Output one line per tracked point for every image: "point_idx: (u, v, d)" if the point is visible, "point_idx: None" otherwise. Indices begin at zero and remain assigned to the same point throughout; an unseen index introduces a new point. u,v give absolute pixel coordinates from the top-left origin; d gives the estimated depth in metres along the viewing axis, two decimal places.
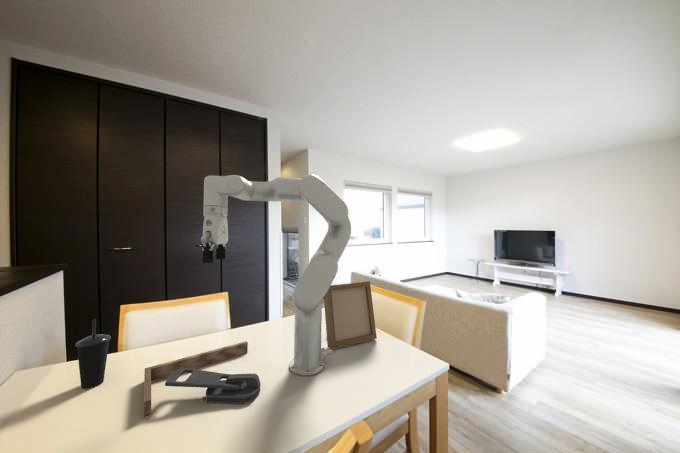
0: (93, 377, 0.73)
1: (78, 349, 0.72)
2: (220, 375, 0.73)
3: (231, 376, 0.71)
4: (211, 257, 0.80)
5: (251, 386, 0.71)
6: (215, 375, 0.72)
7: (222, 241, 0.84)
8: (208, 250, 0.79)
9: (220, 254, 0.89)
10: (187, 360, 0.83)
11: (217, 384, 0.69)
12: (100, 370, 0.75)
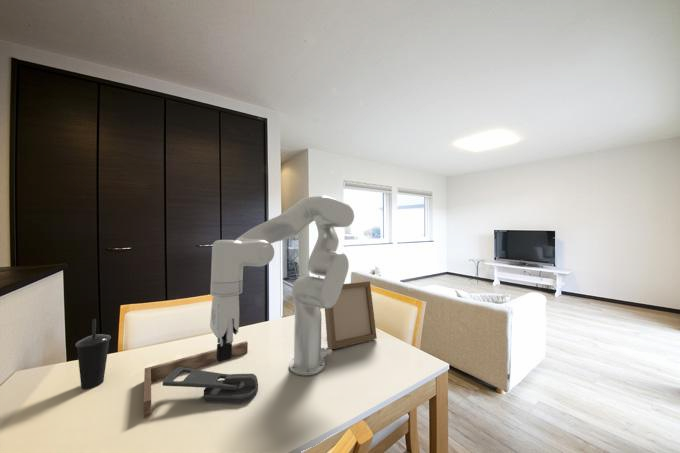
0: (93, 377, 0.73)
1: (78, 349, 0.72)
2: (218, 375, 0.73)
3: (229, 376, 0.71)
4: None
5: (248, 386, 0.71)
6: (213, 375, 0.72)
7: (212, 329, 0.62)
8: None
9: None
10: (187, 360, 0.83)
11: (215, 384, 0.69)
12: (100, 370, 0.75)
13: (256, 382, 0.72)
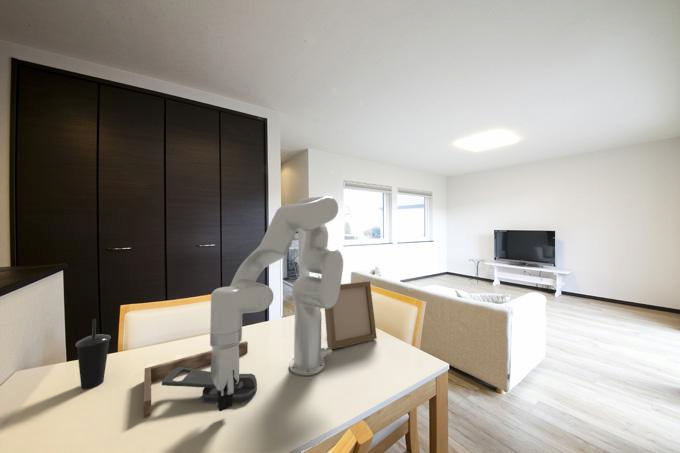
0: (93, 377, 0.73)
1: (78, 349, 0.72)
2: None
3: None
4: None
5: (247, 386, 0.71)
6: None
7: (213, 378, 0.62)
8: None
9: None
10: (187, 360, 0.83)
11: (213, 384, 0.69)
12: (100, 370, 0.75)
13: (255, 382, 0.72)
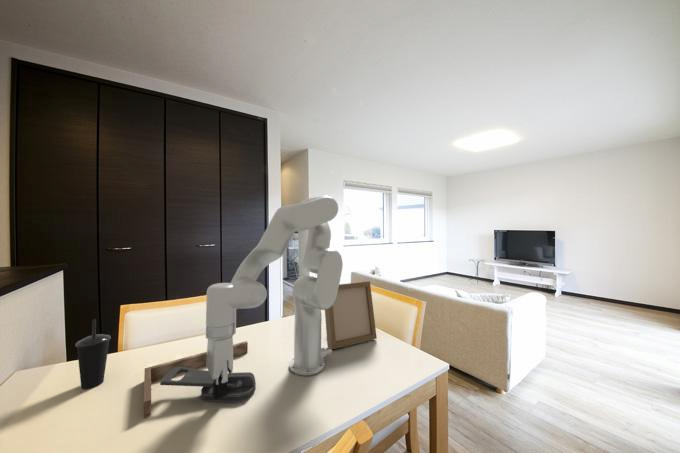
0: (93, 377, 0.73)
1: (78, 349, 0.72)
2: None
3: None
4: None
5: (246, 385, 0.71)
6: None
7: (208, 368, 0.66)
8: None
9: None
10: (187, 360, 0.83)
11: (212, 383, 0.69)
12: (100, 370, 0.75)
13: (254, 381, 0.73)
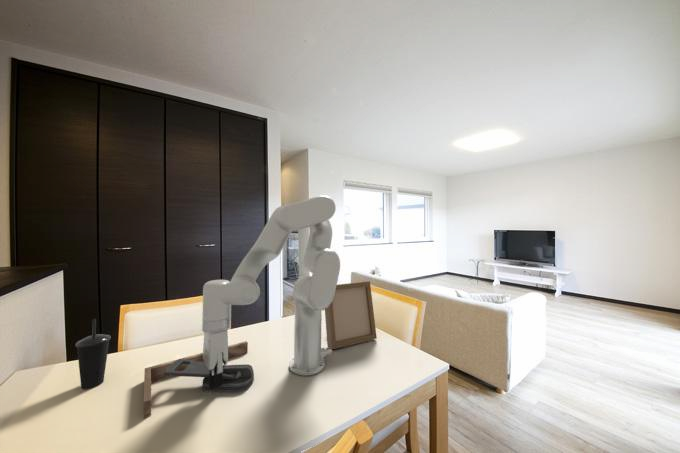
0: (93, 377, 0.73)
1: (78, 349, 0.72)
2: None
3: (226, 367, 0.76)
4: None
5: (245, 376, 0.76)
6: None
7: (204, 360, 0.70)
8: None
9: None
10: None
11: None
12: (100, 370, 0.75)
13: (252, 372, 0.77)
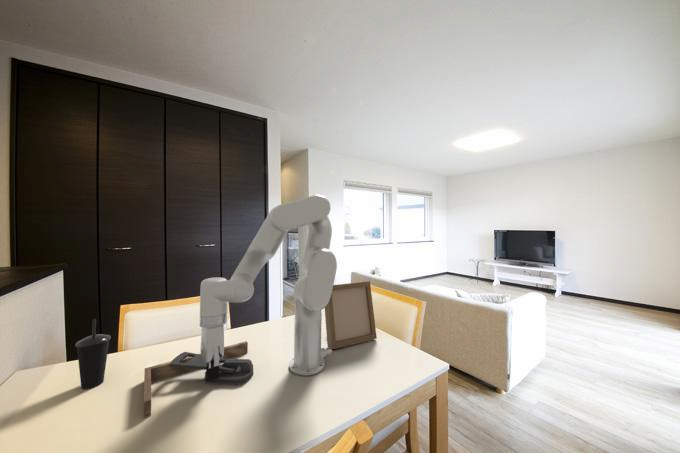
0: (93, 377, 0.73)
1: (78, 349, 0.72)
2: None
3: (227, 360, 0.80)
4: None
5: (244, 370, 0.79)
6: None
7: (202, 353, 0.74)
8: None
9: None
10: (187, 360, 0.83)
11: None
12: (100, 370, 0.75)
13: (251, 367, 0.80)
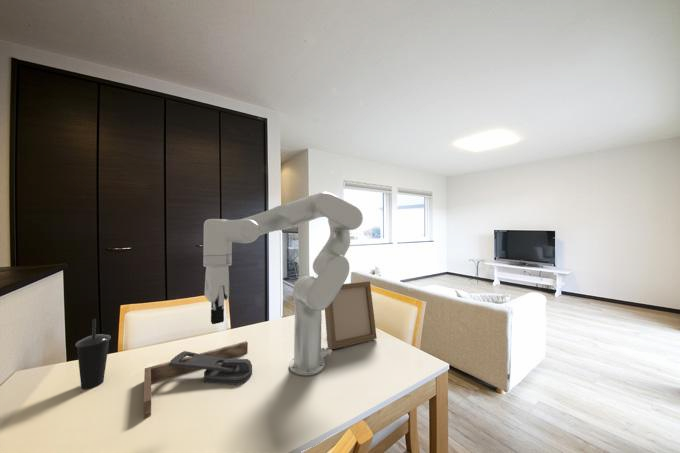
0: (93, 377, 0.73)
1: (78, 349, 0.72)
2: (217, 359, 0.81)
3: (226, 360, 0.80)
4: None
5: (243, 370, 0.79)
6: (213, 359, 0.81)
7: (206, 296, 0.71)
8: None
9: None
10: (187, 360, 0.83)
11: (213, 366, 0.77)
12: (100, 370, 0.75)
13: (250, 367, 0.80)
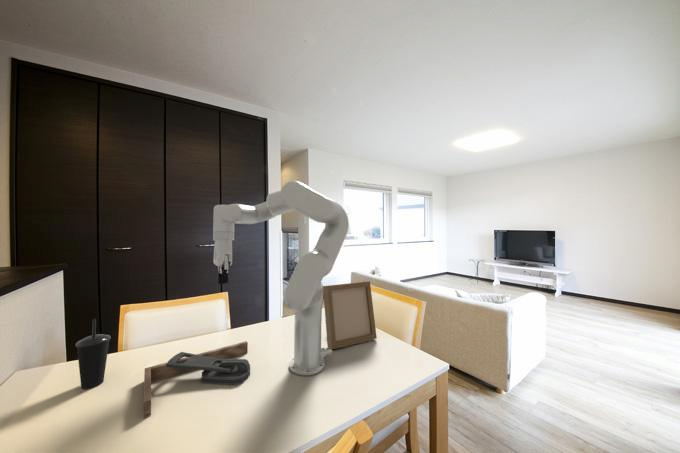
0: (93, 377, 0.73)
1: (78, 349, 0.72)
2: (215, 360, 0.81)
3: (224, 360, 0.80)
4: None
5: (241, 370, 0.79)
6: (210, 359, 0.81)
7: (215, 263, 0.94)
8: None
9: None
10: None
11: (211, 367, 0.77)
12: (100, 370, 0.75)
13: (248, 367, 0.80)
